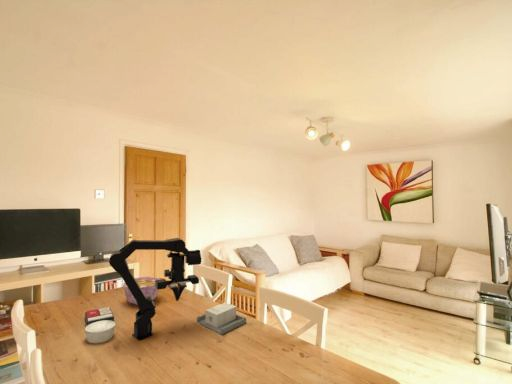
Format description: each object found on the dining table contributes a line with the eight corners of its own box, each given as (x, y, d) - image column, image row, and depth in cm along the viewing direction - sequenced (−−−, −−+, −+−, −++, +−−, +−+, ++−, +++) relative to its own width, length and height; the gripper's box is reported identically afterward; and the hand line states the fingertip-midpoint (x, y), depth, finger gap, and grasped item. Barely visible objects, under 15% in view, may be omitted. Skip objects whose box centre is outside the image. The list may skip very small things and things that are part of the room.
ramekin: (120, 337, 119) (120, 324, 119) (92, 348, 110) (93, 334, 110) (106, 329, 125) (107, 317, 126) (79, 339, 116) (80, 326, 116)
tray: (222, 335, 122) (222, 329, 122) (196, 322, 134) (196, 317, 134) (245, 323, 133) (246, 318, 133) (220, 312, 145) (220, 307, 145)
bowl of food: (114, 305, 152) (114, 284, 152) (141, 294, 171) (142, 275, 171) (141, 312, 144) (142, 289, 145) (168, 299, 163) (168, 279, 163)
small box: (216, 328, 127) (236, 319, 136) (216, 314, 127) (236, 306, 137) (205, 323, 132) (225, 314, 142) (205, 309, 132) (225, 301, 142)
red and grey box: (110, 306, 144) (114, 314, 131) (110, 314, 143) (114, 324, 131) (85, 310, 137) (86, 320, 125) (85, 319, 137) (86, 330, 125)
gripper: (192, 260, 138) (191, 291, 138) (152, 264, 129) (152, 298, 129) (199, 265, 129) (199, 299, 129) (158, 270, 119) (157, 307, 119)
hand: (177, 300), depth 126 cm, fingers closed
